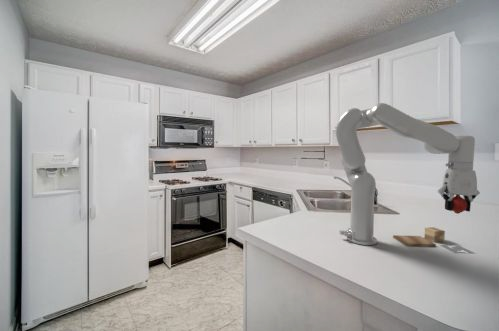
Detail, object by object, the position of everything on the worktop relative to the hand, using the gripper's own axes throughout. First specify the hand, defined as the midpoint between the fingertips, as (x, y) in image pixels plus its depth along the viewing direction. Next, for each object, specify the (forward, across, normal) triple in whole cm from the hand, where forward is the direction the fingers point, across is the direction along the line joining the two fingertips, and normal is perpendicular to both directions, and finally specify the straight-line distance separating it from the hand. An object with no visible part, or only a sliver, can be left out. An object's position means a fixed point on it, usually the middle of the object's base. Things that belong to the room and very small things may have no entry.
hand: (457, 209), depth 93 cm
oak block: (+16, -1, +10) cm, 19 cm away
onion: (+2, 0, 0) cm, 2 cm away
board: (+17, -12, +7) cm, 22 cm away
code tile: (+16, +1, 0) cm, 16 cm away
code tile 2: (+17, -1, +10) cm, 19 cm away
